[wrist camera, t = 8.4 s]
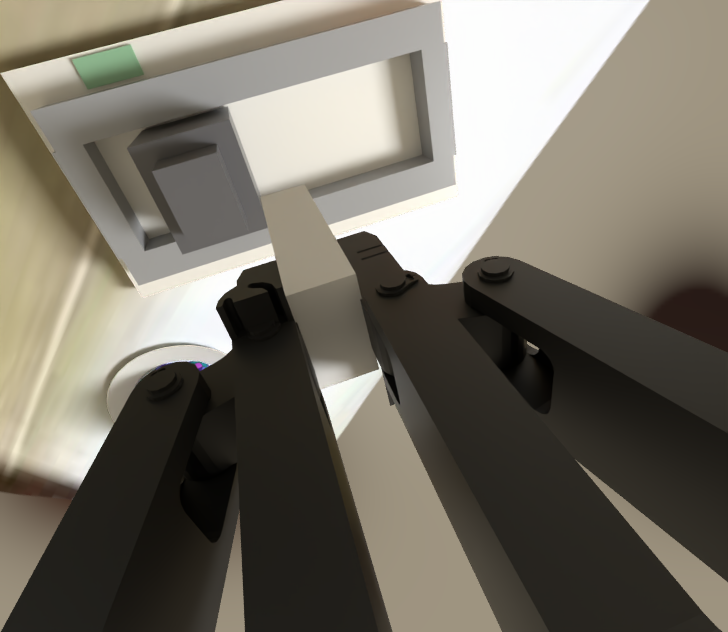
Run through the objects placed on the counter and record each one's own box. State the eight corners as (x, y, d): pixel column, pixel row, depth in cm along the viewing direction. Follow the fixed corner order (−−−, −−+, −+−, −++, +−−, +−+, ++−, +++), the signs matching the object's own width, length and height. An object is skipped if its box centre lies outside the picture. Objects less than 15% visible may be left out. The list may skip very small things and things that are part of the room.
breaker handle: (188, 223, 28) (179, 270, 22) (142, 130, 24) (118, 157, 18) (262, 200, 28) (273, 240, 22) (227, 106, 25) (230, 125, 19)
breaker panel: (145, 288, 31) (137, 313, 28) (12, 71, 23) (-18, 75, 20) (449, 190, 33) (470, 204, 30) (428, -36, 25) (454, -46, 22)
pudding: (224, 319, 34) (224, 359, 30) (275, 415, 41) (282, 458, 37) (75, 372, 33) (54, 420, 29) (154, 461, 40) (146, 510, 36)
